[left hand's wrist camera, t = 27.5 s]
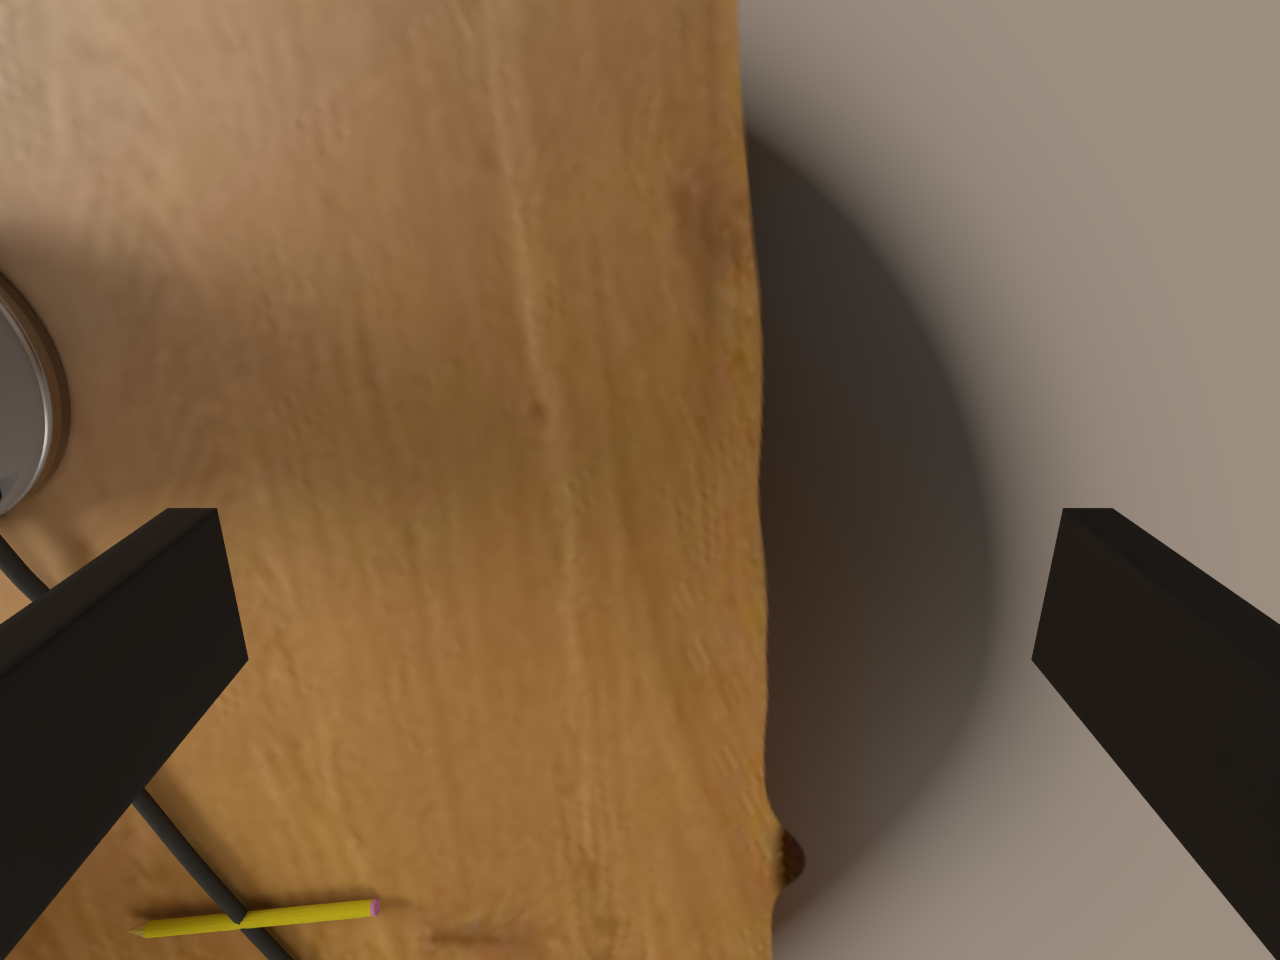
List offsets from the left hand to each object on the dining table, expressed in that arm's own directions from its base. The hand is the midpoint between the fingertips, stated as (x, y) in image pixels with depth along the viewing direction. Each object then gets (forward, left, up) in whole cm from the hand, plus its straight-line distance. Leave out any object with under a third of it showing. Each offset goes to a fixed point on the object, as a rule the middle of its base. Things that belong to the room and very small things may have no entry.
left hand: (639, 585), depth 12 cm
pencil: (-40, +22, -26) cm, 53 cm away
